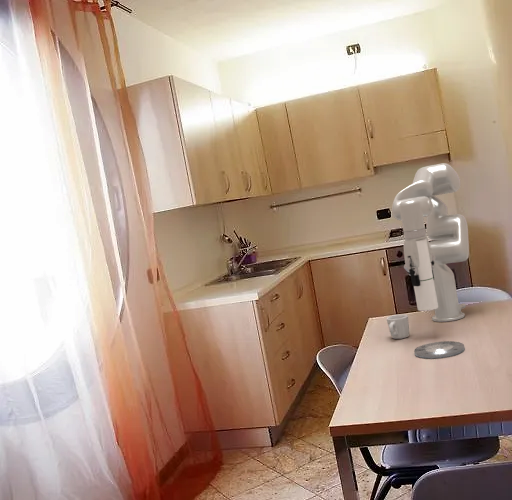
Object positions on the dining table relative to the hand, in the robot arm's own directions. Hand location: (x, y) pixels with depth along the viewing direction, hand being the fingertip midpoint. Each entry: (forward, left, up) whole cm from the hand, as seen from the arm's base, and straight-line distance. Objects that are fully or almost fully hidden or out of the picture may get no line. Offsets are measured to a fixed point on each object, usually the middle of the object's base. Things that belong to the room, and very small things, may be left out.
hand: (423, 282), depth 222 cm
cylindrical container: (0, 0, -10) cm, 10 cm away
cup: (+4, -13, -20) cm, 24 cm away
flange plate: (+14, +13, -20) cm, 28 cm away
